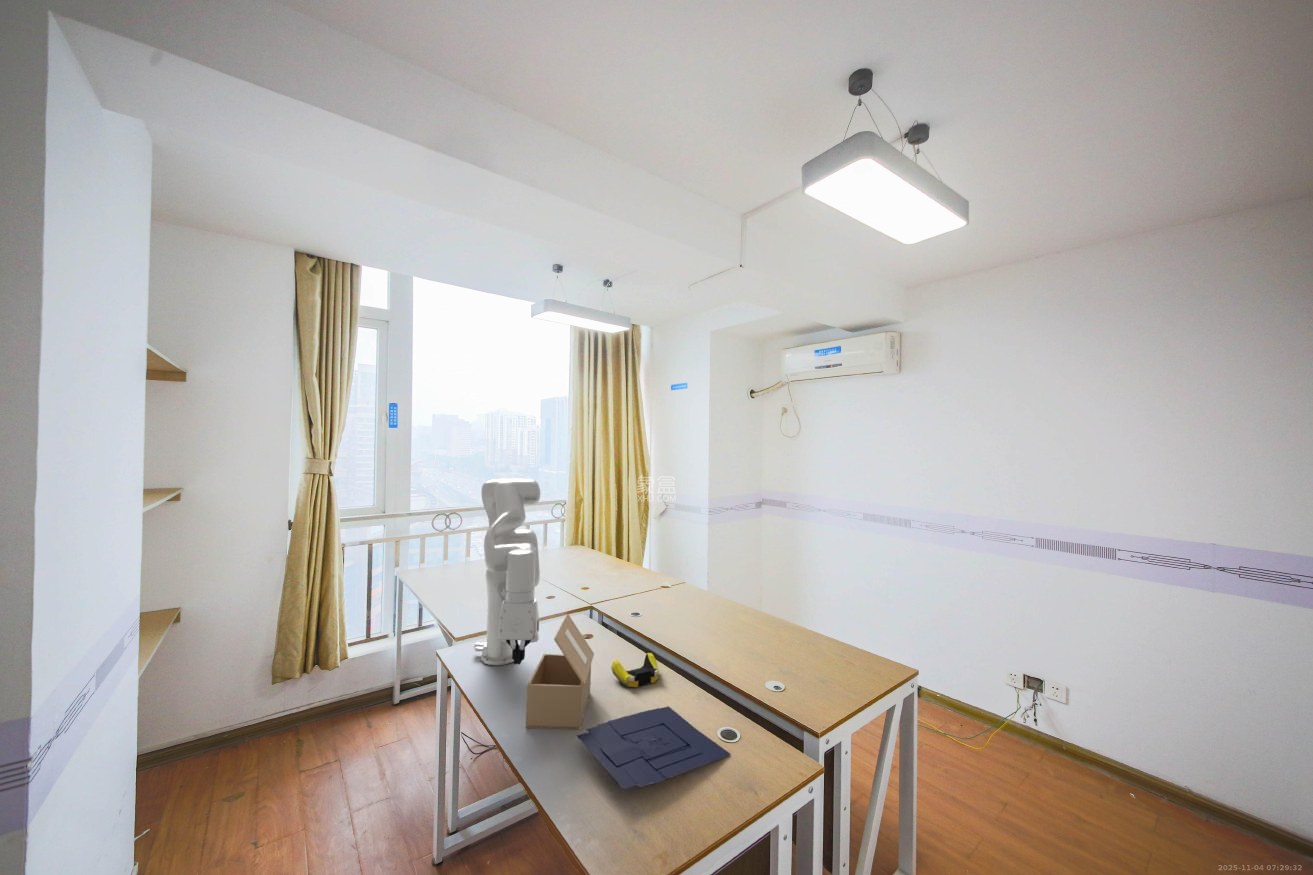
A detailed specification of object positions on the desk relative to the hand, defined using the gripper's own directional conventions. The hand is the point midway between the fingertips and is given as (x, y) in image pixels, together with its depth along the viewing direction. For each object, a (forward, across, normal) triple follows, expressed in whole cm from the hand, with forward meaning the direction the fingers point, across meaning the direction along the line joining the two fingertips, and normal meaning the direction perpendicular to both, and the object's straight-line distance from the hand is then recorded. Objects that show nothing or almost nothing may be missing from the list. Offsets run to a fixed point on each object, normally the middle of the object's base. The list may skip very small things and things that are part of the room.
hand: (518, 661), depth 127 cm
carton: (+13, +12, 0) cm, 17 cm away
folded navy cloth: (+13, +37, -15) cm, 42 cm away
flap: (-4, +15, 0) cm, 16 cm away
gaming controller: (+13, +32, +18) cm, 39 cm away
